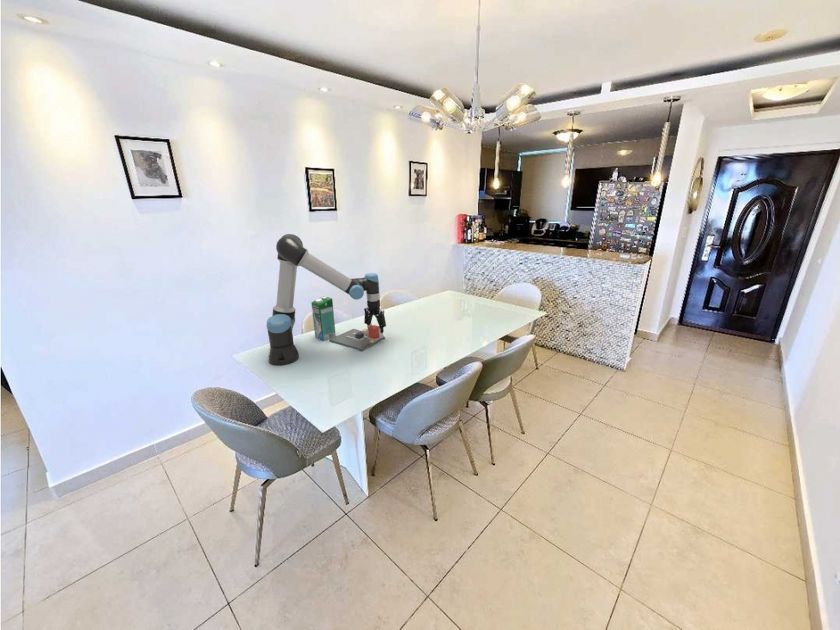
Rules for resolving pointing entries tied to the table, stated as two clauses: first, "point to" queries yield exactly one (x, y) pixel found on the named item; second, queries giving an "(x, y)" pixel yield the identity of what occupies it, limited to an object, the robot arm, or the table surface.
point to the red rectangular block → (373, 331)
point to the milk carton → (323, 318)
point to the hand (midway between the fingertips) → (375, 336)
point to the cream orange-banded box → (365, 332)
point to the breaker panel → (355, 340)
